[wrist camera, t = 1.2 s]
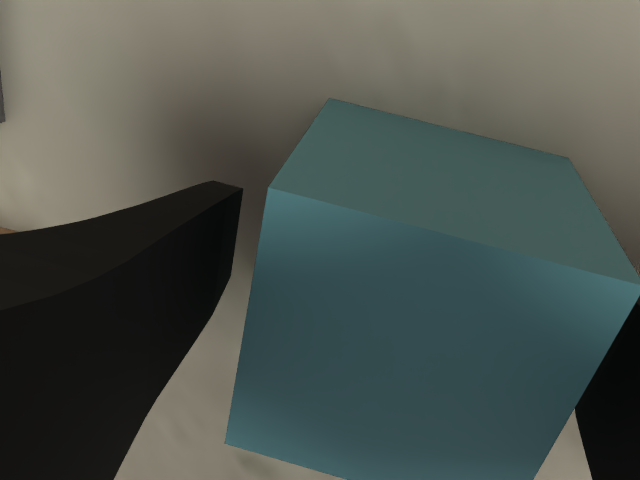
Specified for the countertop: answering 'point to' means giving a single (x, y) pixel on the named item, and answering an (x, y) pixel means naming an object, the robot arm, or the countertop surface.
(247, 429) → the teal block
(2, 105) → the charcoal block
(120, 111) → the countertop surface
